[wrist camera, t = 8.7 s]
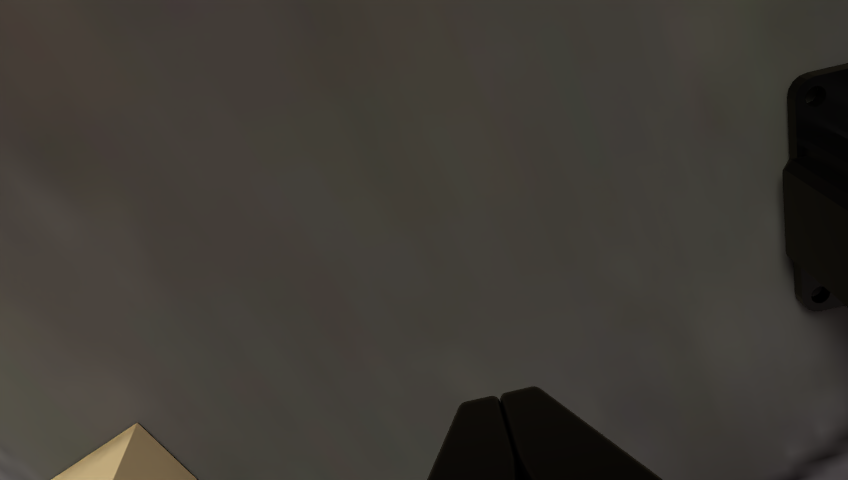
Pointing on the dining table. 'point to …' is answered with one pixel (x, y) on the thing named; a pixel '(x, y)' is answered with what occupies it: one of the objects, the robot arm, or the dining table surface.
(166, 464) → the cardboard box
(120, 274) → the dining table surface
